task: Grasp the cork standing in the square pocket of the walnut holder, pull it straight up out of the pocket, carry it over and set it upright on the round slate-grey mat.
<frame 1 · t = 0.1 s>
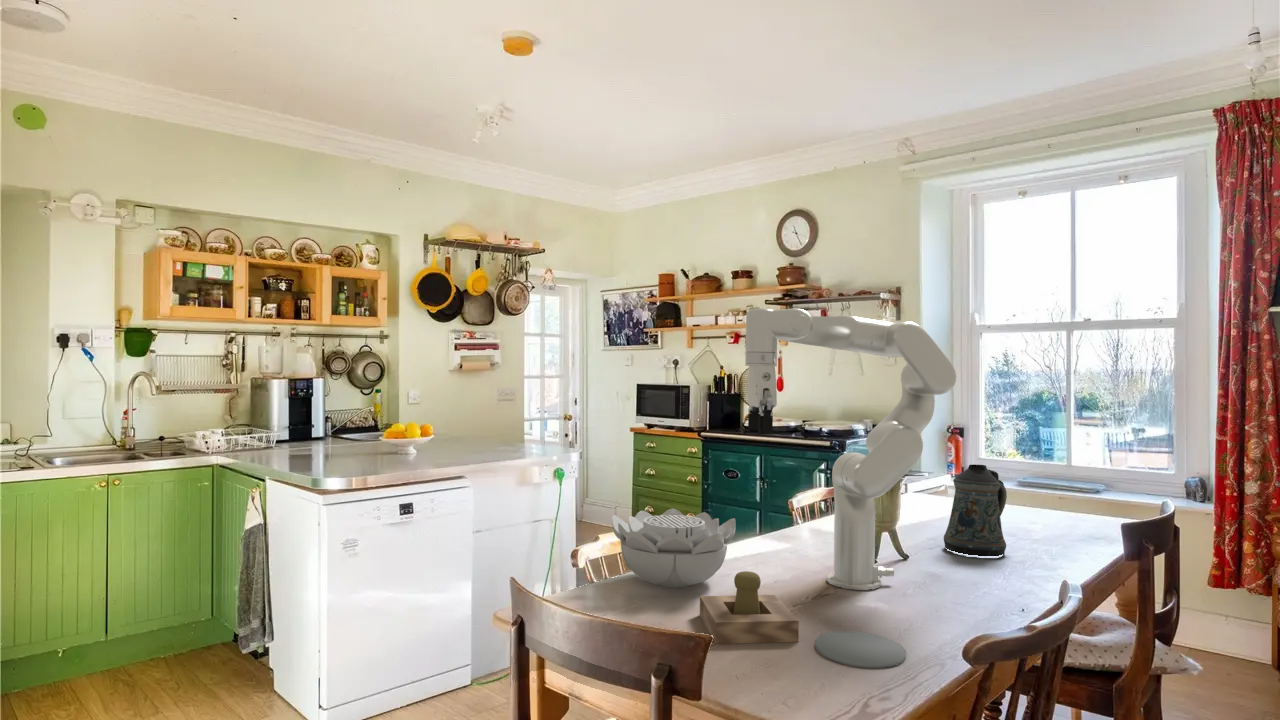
hand: (759, 431, 177), 37 cm above the table, tool pointing down, fingers open, 9 cm apart
walnut holder: (746, 627, 147), on the table
beer stein: (975, 551, 215), on the table
cork: (746, 629, 147), resting in walnut holder
decorative bowl: (676, 583, 178), on the table
slate mat: (859, 650, 136), on the table
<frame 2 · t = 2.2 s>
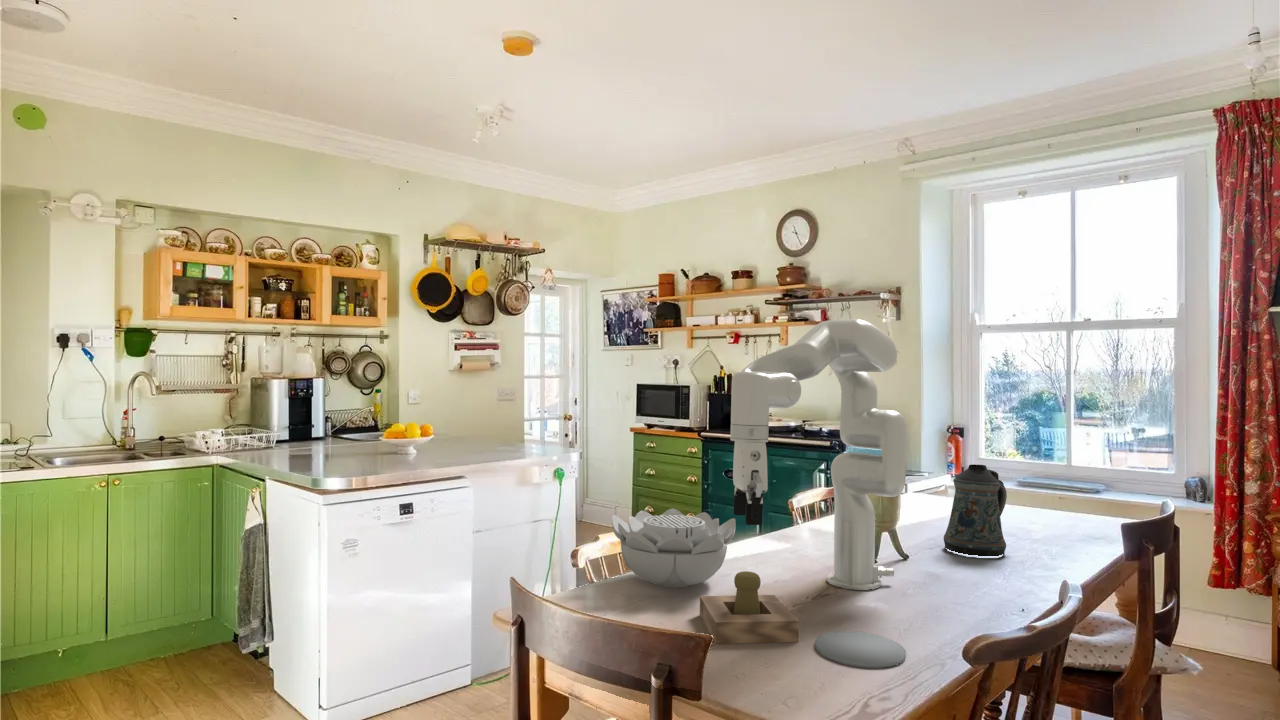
hand: (747, 519, 147), 22 cm above the table, tool pointing down, fingers open, 9 cm apart
nothing on the table moved.
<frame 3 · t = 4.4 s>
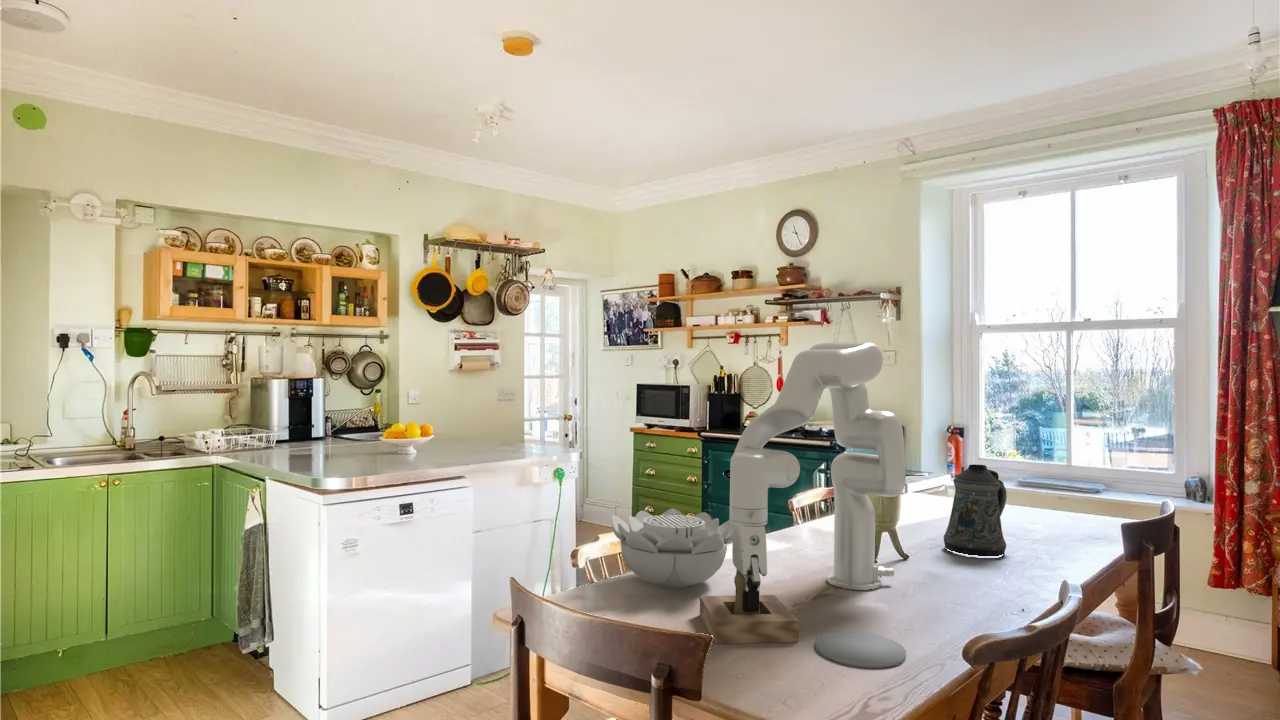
hand: (747, 605, 147), 4 cm above the table, tool pointing down, fingers closed on cork, 4 cm apart
cork: (746, 628, 147), resting in walnut holder, touching gripper
everything else where it was.
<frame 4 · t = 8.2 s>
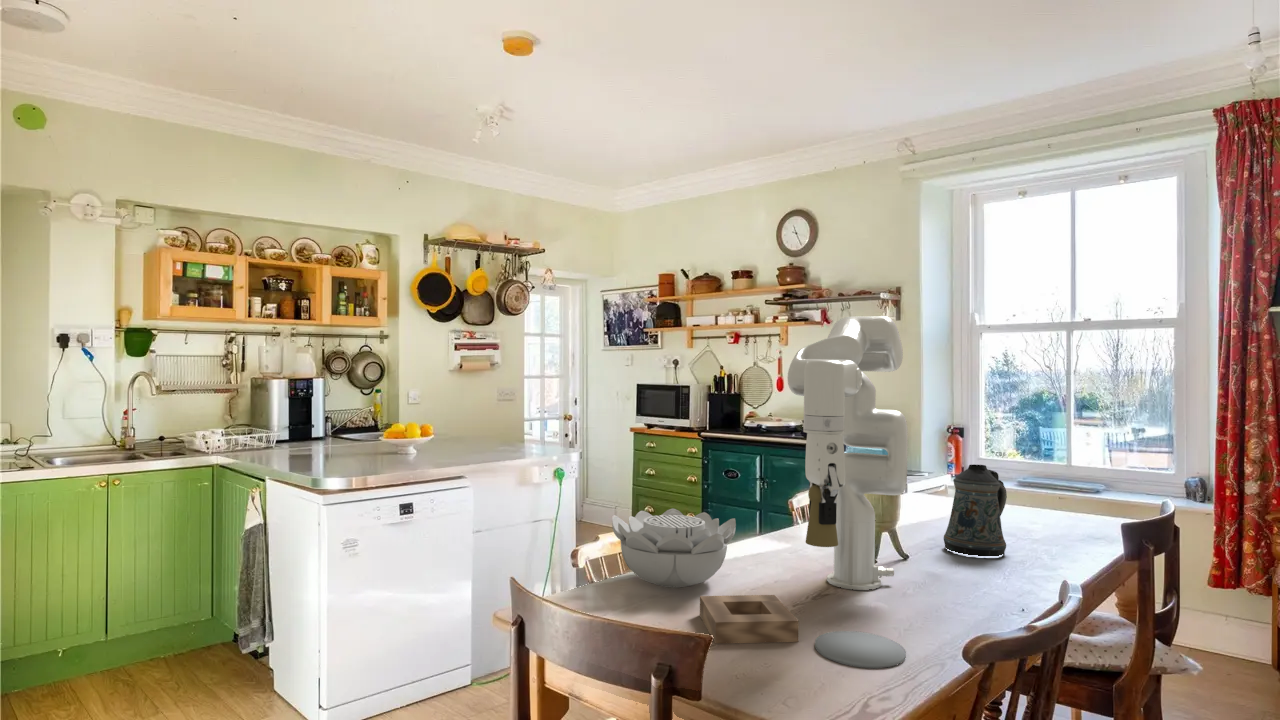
hand: (822, 519, 140), 23 cm above the table, tool pointing down, fingers closed on cork, 4 cm apart
cork: (821, 544, 140), point 19 cm above the table, touching gripper
everything else where it was.
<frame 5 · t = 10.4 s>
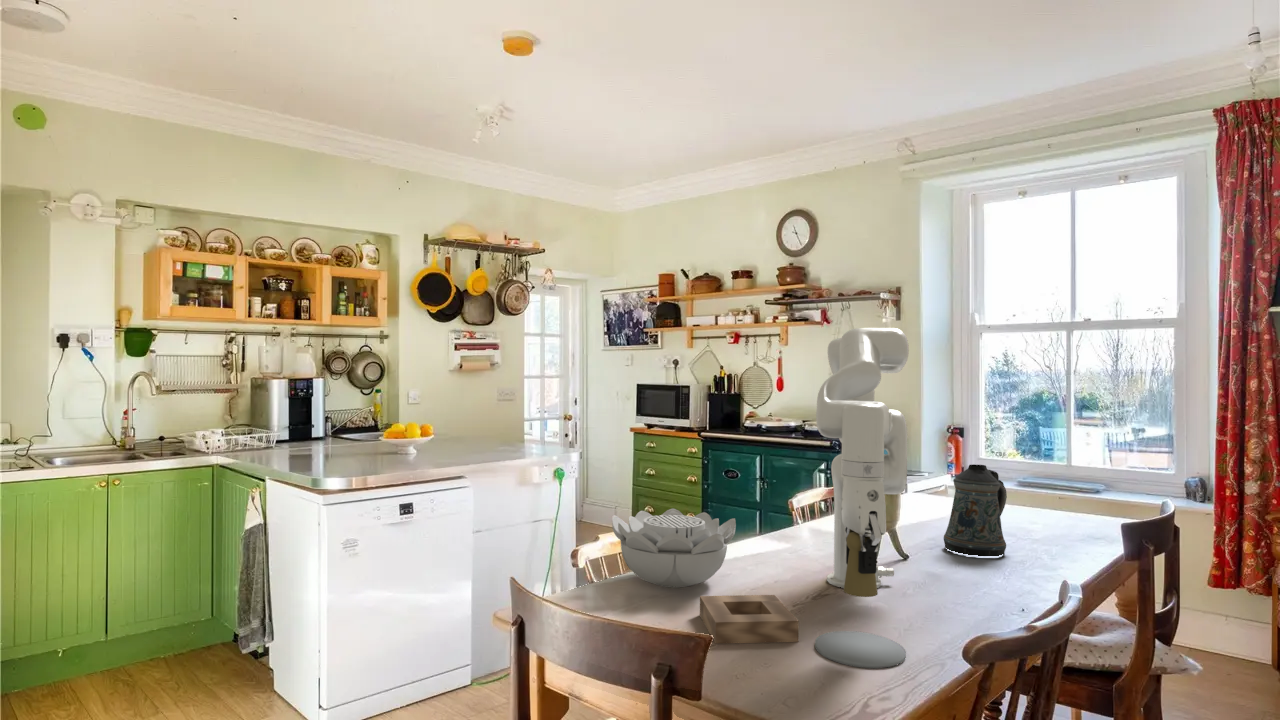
hand: (860, 567, 136), 15 cm above the table, tool pointing down, fingers closed on cork, 4 cm apart
cork: (860, 593, 136), point 11 cm above the table, touching gripper
everything else where it was.
when the fingers open (6 cm above the table, at t = 12.4 s): cork stays where it is, resting on slate mat.
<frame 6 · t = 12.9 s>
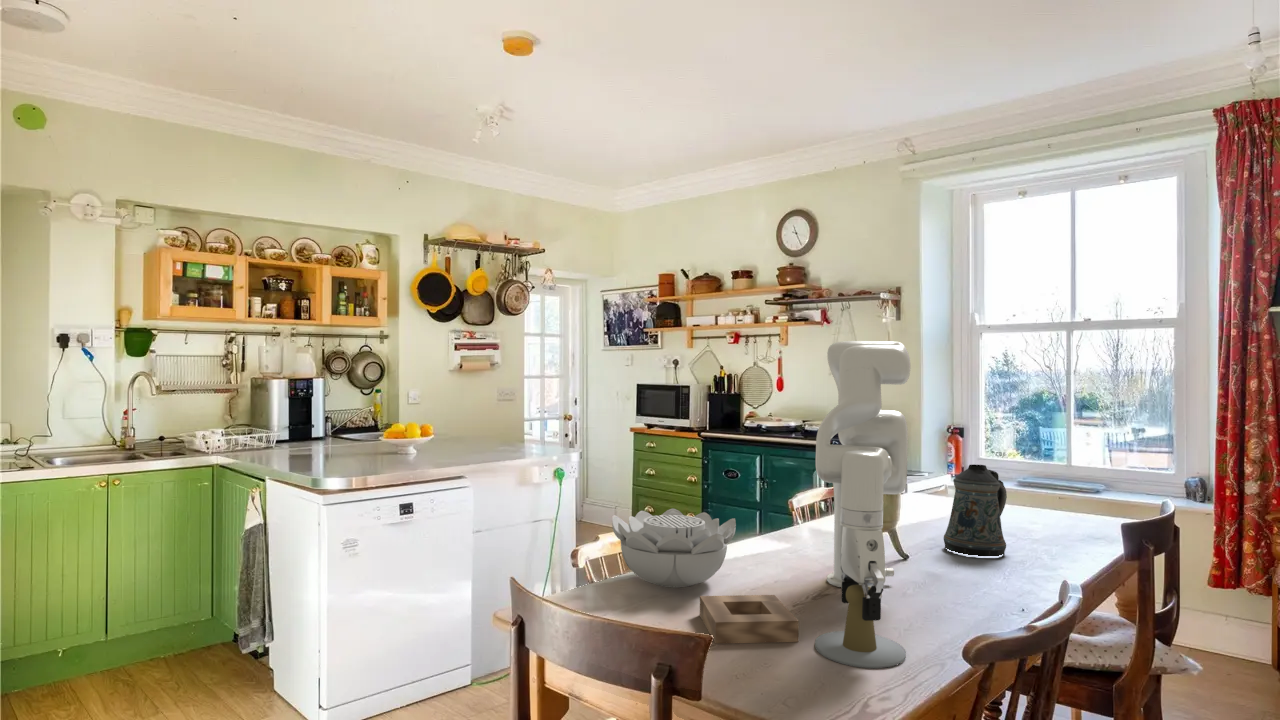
hand: (860, 611, 136), 7 cm above the table, tool pointing down, fingers open, 9 cm apart
cork: (859, 647, 136), point 1 cm above the table, touching slate mat
everything else where it was.
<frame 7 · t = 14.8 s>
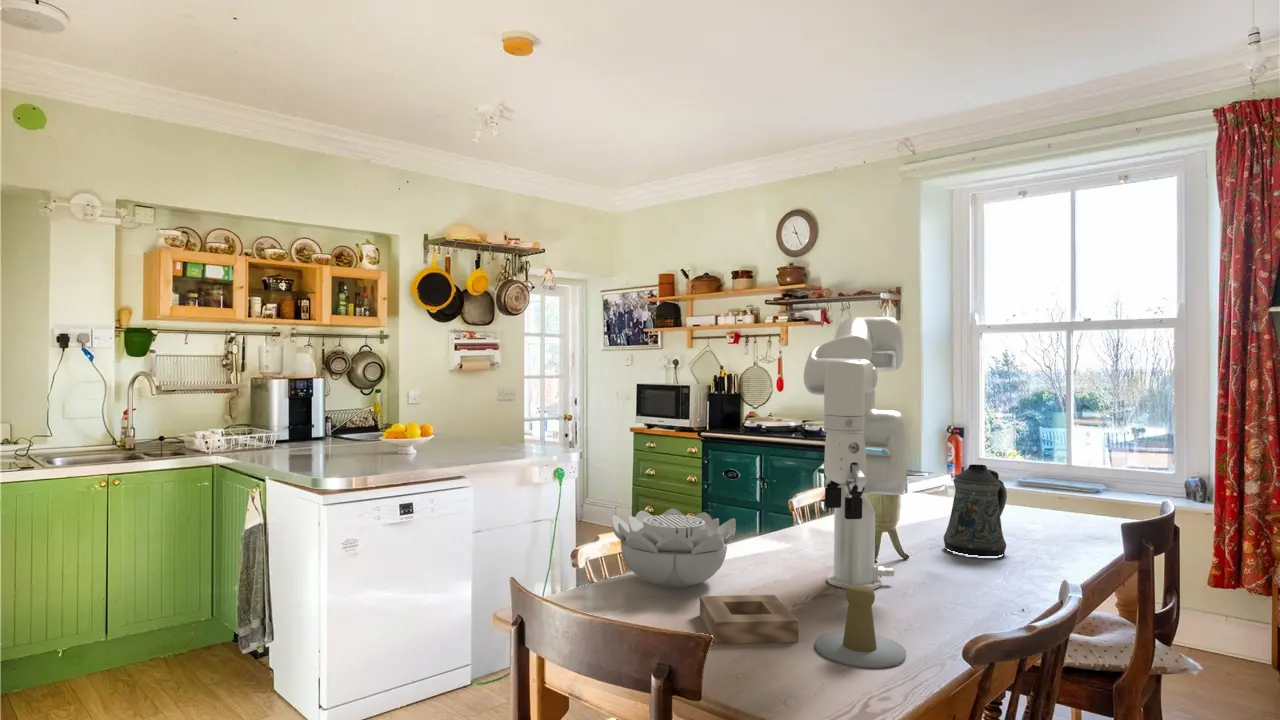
hand: (842, 513, 142), 24 cm above the table, tool pointing down, fingers open, 9 cm apart
nothing on the table moved.
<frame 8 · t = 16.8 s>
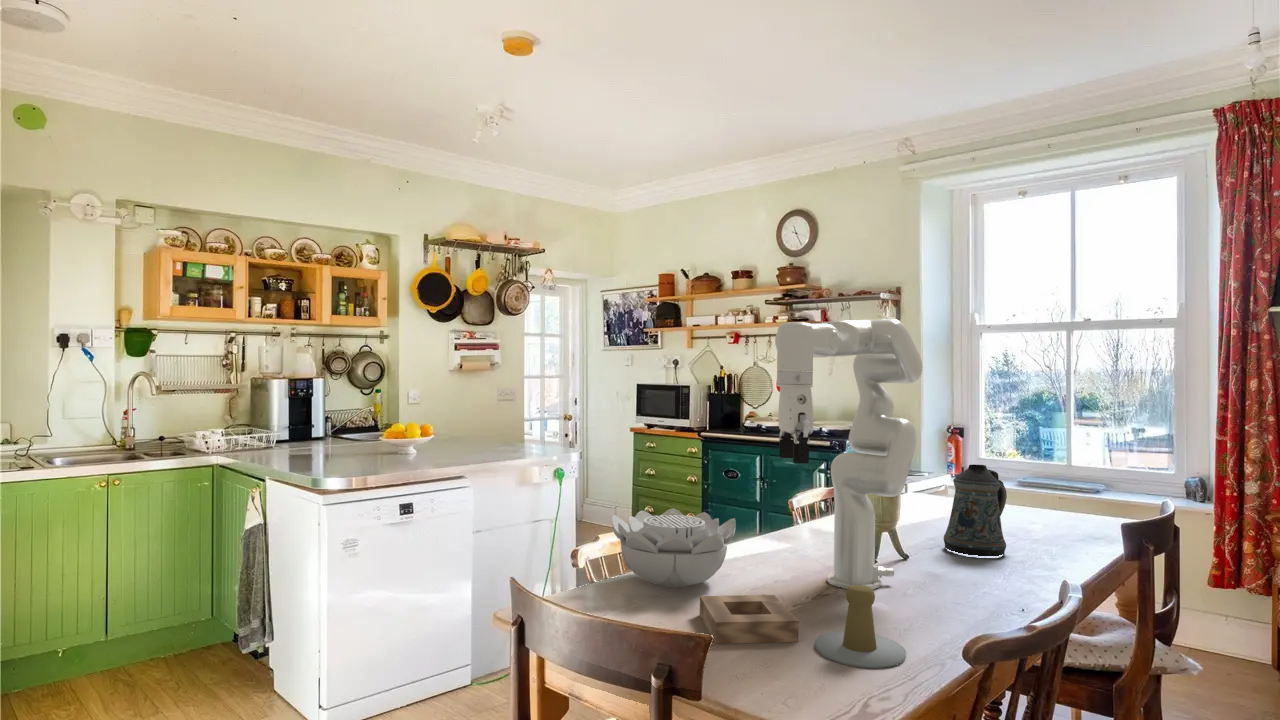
hand: (793, 460, 158), 32 cm above the table, tool pointing down, fingers open, 9 cm apart
nothing on the table moved.
at the end: cork inside the target area on the slate mat (0.1 cm from its centre), point 0.6 cm above the slate mat's base; cork tilted 0°; the gripper is holding nothing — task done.
